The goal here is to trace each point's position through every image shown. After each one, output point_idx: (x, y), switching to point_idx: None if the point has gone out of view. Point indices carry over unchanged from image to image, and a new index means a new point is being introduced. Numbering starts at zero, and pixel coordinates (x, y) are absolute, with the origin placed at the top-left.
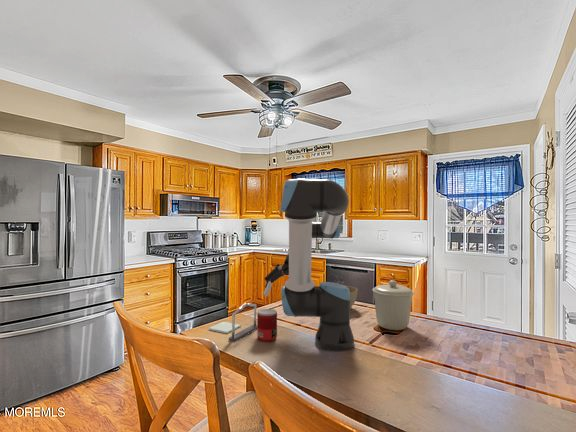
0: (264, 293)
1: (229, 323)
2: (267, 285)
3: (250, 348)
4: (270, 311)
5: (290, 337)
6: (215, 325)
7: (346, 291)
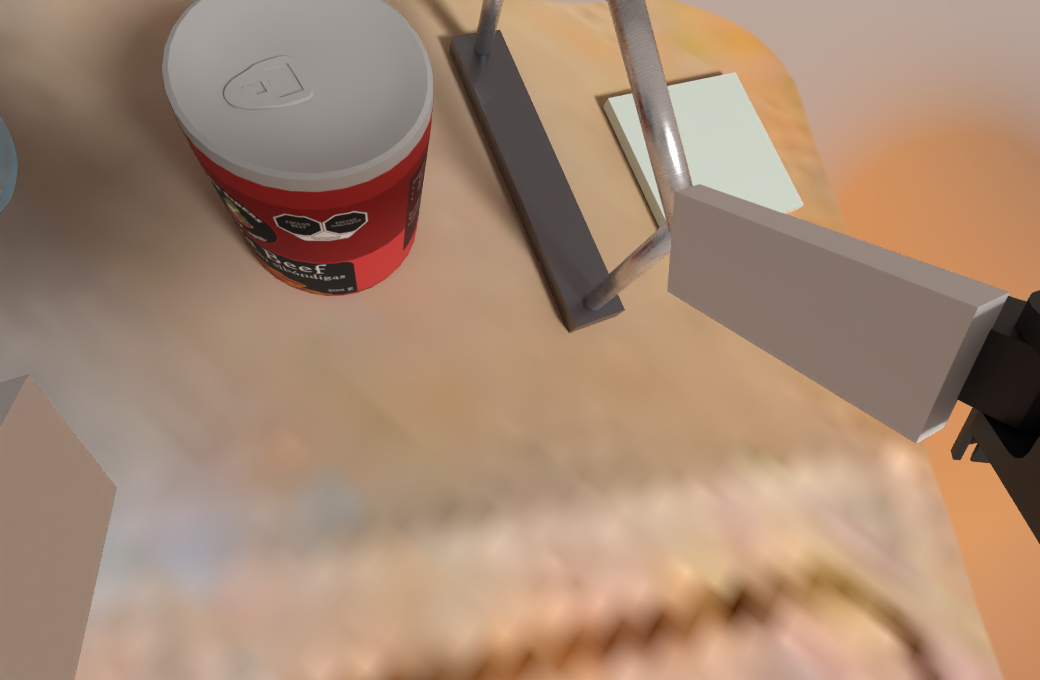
0: (683, 191)
1: None
2: (845, 241)
3: None
4: (309, 128)
5: (195, 383)
6: (755, 123)
7: None
